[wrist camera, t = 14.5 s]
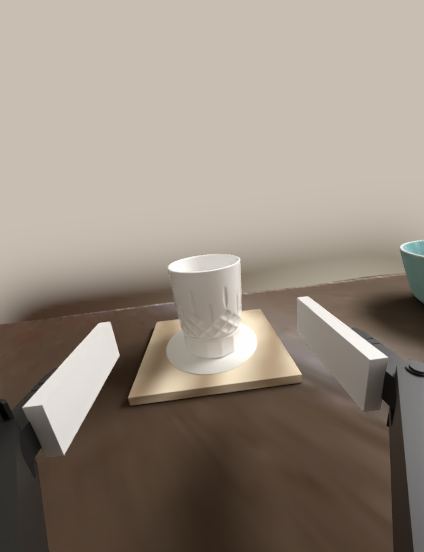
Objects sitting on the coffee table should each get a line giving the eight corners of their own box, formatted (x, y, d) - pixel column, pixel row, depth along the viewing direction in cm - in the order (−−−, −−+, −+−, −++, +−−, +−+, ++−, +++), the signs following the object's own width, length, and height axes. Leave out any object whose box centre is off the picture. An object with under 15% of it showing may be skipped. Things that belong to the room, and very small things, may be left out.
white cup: (198, 374, 21) (184, 278, 18) (172, 338, 28) (158, 263, 25) (260, 344, 24) (255, 259, 21) (223, 318, 31) (216, 251, 28)
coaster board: (130, 405, 19) (127, 397, 19) (158, 327, 33) (157, 321, 33) (301, 382, 20) (301, 373, 20) (260, 314, 33) (259, 308, 33)
